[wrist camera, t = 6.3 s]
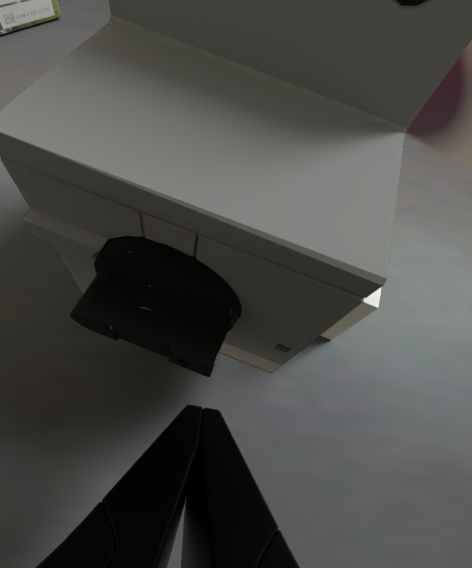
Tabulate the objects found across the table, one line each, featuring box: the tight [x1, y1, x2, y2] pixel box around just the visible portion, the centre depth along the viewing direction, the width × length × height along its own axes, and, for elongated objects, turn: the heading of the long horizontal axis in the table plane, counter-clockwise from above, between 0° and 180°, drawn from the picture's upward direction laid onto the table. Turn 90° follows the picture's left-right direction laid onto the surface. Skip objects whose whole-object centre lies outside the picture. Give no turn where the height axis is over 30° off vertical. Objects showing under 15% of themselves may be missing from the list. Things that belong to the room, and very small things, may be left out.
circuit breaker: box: [0, 0, 472, 377], centre depth 11 cm, size 8×14×15 cm, turn 160°
